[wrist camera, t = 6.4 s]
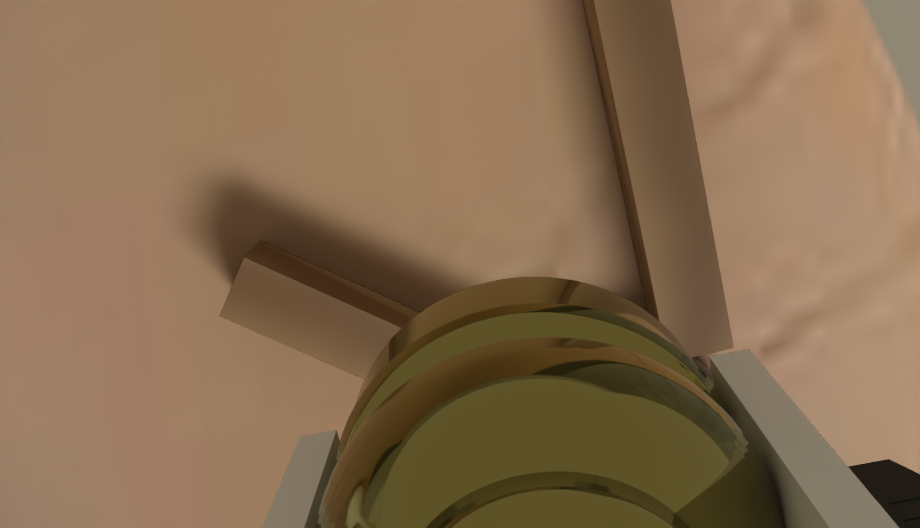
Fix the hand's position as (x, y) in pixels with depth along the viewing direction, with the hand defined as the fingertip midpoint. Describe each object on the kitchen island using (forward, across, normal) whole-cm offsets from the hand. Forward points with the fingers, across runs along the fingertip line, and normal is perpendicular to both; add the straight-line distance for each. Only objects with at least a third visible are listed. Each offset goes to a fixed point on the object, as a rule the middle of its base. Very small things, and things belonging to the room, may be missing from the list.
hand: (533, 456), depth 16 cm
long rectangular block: (+16, +4, +3) cm, 17 cm away
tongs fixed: (+16, -4, +1) cm, 17 cm away
